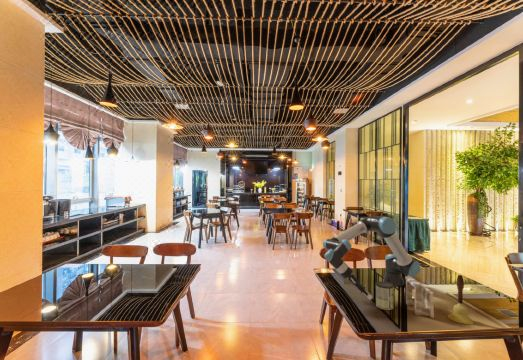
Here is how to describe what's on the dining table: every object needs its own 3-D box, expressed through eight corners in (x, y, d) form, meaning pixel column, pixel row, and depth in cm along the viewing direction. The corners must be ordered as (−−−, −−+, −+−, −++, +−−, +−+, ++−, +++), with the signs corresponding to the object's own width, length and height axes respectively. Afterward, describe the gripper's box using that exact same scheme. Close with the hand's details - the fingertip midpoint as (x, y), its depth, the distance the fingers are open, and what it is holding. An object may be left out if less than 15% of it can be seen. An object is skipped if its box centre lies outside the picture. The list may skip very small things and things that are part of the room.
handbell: (479, 322, 153) (478, 277, 154) (465, 325, 148) (465, 279, 150) (456, 313, 164) (455, 271, 166) (442, 316, 160) (442, 273, 161)
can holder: (405, 302, 179) (404, 275, 180) (420, 304, 178) (420, 276, 179) (416, 315, 160) (415, 285, 161) (433, 317, 158) (433, 287, 159)
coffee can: (375, 302, 179) (375, 280, 180) (392, 304, 176) (392, 282, 176) (376, 308, 169) (376, 285, 170) (394, 311, 166) (394, 287, 167)
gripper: (339, 271, 185) (364, 298, 181) (340, 276, 172) (368, 306, 168) (347, 263, 184) (373, 291, 180) (349, 268, 171) (377, 298, 167)
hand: (371, 298), depth 174 cm, fingers closed
